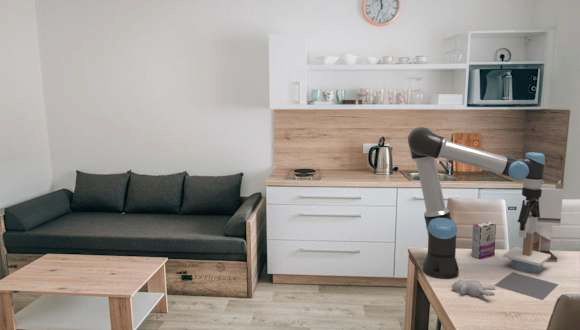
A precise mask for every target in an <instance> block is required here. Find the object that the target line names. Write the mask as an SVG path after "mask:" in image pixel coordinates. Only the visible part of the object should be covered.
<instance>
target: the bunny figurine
mask: <svg viewBox="0 0 580 330" xmlns="http://www.w3.org/2000/svg"><path fill="white" fill-rule="evenodd" d="M451 290H454V292H456V293H458V294H461V295H468V296H471V297H475V298H478V297H479V296H481V295H485V296H487V297H491V296H492V293H493V292H492V291H496V286H493V285H490V286H489V285H488V286H487V285H486V286H483V285H482V283H481V281H478V280H462V279H460V280H457V281H455V282H454V283H452V285H451Z"/></svg>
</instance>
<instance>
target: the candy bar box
mask: <svg viewBox="0 0 580 330" xmlns="http://www.w3.org/2000/svg"><path fill="white" fill-rule="evenodd" d="M496 230H497V223H495V222H493V221H484V222H483V221H482V222H480V223H479V222H478V223H475V224H474V223H473V224H472V238H471V239H472V242H471V244H472V245H471V257H473V258H475V259H478V260H483V259H485V258H489V257H492V256H493V257H494V256H495V250H496V234H497V233H496Z"/></svg>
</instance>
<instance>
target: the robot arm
mask: <svg viewBox="0 0 580 330" xmlns="http://www.w3.org/2000/svg"><path fill="white" fill-rule="evenodd" d="M407 144H408V147H409V150H410V155H411V156H410V157H411V159H412V160H413V161H414V162H416V168H417V172H418V177H419V182H420V187H421V192H422V196H423V200H424V201H423V202H424V205H425V210H426V211H425V212H424V213H423V215H424V222H425V226H426V227H425V228H426V231H427V236H428V237H427V254H426V257H425V259H424V262H423V265H422V271H423V273H425V275H427V276H430V277H433V278H437V279H441V280H442V279H446V280H447V279H448V280H449V279H455V278H457V277H458V276H459V273H460V269H459V265H458V262H457V258H456V253H457V252H456V250H457V249H456V248H457V233H458V228H457V223H456V222H455V221H454V220H452V216H451V211H450V209H448V208H447V207H446V205H445V200H444V195H443V190H442V185H441V180H440V177H439V175H440V174H439V171H438V167H437V162H436V160H437V159H440V158H441V159H446V160H448V161H449V160H450V161H453V162H457V163H460V164H463V165H467V166H470V167H475V168H478V169H481V170H485V171H488V172H492V173H496V174H499V175H503V176H506V177H509V178H511V179H513V180H516V181H522V186H523V187H521V188H522V190H521V195H522V197H525V199H523V200H522V204H521V208H520V212H519V216H518V220H517V223H519V228H518V229H519V230H518V237H519V238H522V239H524V238H526V230H527V223H526V222H527V219H528V217H529V214H530V211H531V215H532V216H533V217H531V218H530V228H529V230H530V231H534V232H536V229H537V219H538V218H537V217H539V218H540V211H539V198H540V197H541V194H542V190H541V189H540V188H542V185H545V181H544V171H545V166H546V162H545V161H546V156H545V154H544V153H541V152H533V151H532V152H530V151H529V152H526V153H525V156H507V155H500V154H496V153H493V152H489V151H485V150H481V149H478V148H475V147H472V146H468V145H464V144H460V143H457V142H453V141H450V140H447V139H446V137H444V136H440V135H438V134H436V133H433V131H432V130H431V129H429V128H428V127H423V126H421V127H416V128H414V129H412V130H411V131H410V133H409V134H408V138H407Z"/></svg>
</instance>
